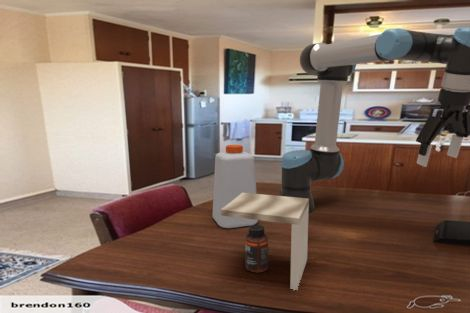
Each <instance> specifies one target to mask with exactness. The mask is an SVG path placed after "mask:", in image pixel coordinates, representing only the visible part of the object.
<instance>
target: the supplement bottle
mask: <svg viewBox="0 0 470 313" xmlns="http://www.w3.org/2000/svg"><path fill="white" fill-rule="evenodd" d="M244 241H245V242H244V243H245V246H244V248H245V269H246V270H247V271H248V270H249V271H248V272H250V271H251V272H250V273H254V272H255V274H259V273H260V272H261V273H264V272H266V271H267V270H268V269H269V268H268V267H269V237H268V235H267V234H266V233H265V226H263V225H261V224H254V225H251V226H248V233H247V234H246V235H245V240H244Z"/></svg>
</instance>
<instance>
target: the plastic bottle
mask: <svg viewBox="0 0 470 313" xmlns="http://www.w3.org/2000/svg"><path fill="white" fill-rule="evenodd" d="M243 147H244V146H243V145H242V144H228V145H226V146H225V151H220V152H218V153H216V154H215V158H214V177H213V178H214V179H213V182H214V183H213V195H212V196H213V198H212V218H213V220H214V221H215V222H216V224H217V225H218V227H220V228H224V229H234V228H242V227H250V226H251V225H257V223H258V222H259V220H254V219H246V218H237V217H229V216H221V209H222V208H224V207H225V206H226V205H227V204H229V203H230V202H231V201H232V200H234V199H235V198H236V197H237V196H239V195H240V194H241V193H253V194H258V193H257V182H256V167H255V157H254V155H253V154H251V153H249V152H246V151H244V148H243Z"/></svg>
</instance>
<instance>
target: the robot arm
mask: <svg viewBox="0 0 470 313" xmlns="http://www.w3.org/2000/svg"><path fill="white" fill-rule="evenodd" d="M398 60H399V61H400V60H401V61H414V62H427V63H433V64H434V63H435V64H436V63H437V64H442V65H445V70H444V75H443V77H442V81H441V84H440V86H441V87H442V88H441V89H439V93H438V96H437V102H438V103H440V107H439V108H438V109H437V108H434V107H433V108H431V109H430V113H429V116H428V118H427V119H426V121H425V123H424V124H423V126H422V128H421V130H420V132H419V134H418V135H417V137H416V138H415V142H416V143H420V146H419V151H418V154H417V160H416V164H417V165H419V166H422V167H423V168H426V167H427V166H428V162H429V159H430V155H431V152H432V147H433V145H432V142H433V141H434V140H435V139H436V138H437V136H438V135H439V133H440V132H441V131H442V130H443V128H444V127H447V126H448V124H451V125H452V130H453V132H454V134H452V136H451V139H450V143H449V146H448V149H447V153H446V156H449V157H452V158H454V159H457V158H458V155H459V154H460V149H461V145H462V143H463V140H464V138H467V139H468V137H469V134H470V26H469V27H466V26H464V27H457V28H456V29H455V32H454V33H453V34H444V33H434V32H425V31H416V30H410V29H405V28H402V27H399V28H387V29H385V30H384V31H383V32H381V33H378V34H374V35H370V36H364V37H358V38H353V39H348V40H344V41H338V42H333V43H329V44H328V43H325V42H317V43H312V44H311V43H310V44H309V45H307V46H305V48H303V50H302V51H301V52H300V56H299V65H300V67H301V69H302V70H303V72H304V73H306V74H308V75H311V76H315V77H316V76H317V79H316V80H317V82H318V84H319V85H320V88H319V95H318V96H319V99H318V106H317V118H316V128H315V136H314V143H313V144H312V145H311V146H310V149H309V150H307V149H298V150H297V149H295V150H291V151H288V152H285V153H284V154H283V155H282V157H281V158H282V159H281V190H280V193H279V195H278V196H286V197H297V198H307V199H309V212H308V214H309V213H312V212H314V210H315V201H314V197H313V195H312V191H311V190H312V189H311V184H312V182H315V181H323V180H331V179H335V178H337V177H339V176H340V175H341V174H342V172H343V169H344V165H345V161H344V158H343V155H342V154H341V153H340V148H339V147H338V146H337V142H338V131H339V130H338V129H339V121H340V116H341V115H340V113H341V105H342V98H343V87H344V85H346V83H347V84H348V80H349V76H351V75H352V74H353V72H355V69H356V66H357V65H361V64H368V63H378V62H391V61H398Z"/></svg>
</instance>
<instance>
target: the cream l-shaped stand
mask: <svg viewBox="0 0 470 313" xmlns="http://www.w3.org/2000/svg"><path fill="white" fill-rule="evenodd" d="M308 212H309V199H307V198H297V197H286V196H279V195H275V194H261V193H257V194H253V193H241V194H240V195H239V196H237V197H236V198H235V199H234V200H232V201H231V202H230V203H229V204H227V205H226V206H225V207H224V208H222V209H221V216H229V217H237V218H246V219H254V220H258V221H264V222H272V223H279V224H287V225H291V230H290V232H291V239H290V240H291V242H290V279H289V280H290V283H289V284H290V286H289V287H290V288H289V289H293V290H292V291H295V290H297V291H298V290H299V287H298V286H300V284H301V281H300V280H302V277H303V273H304V270H305V267H306V265H307V261H308V243H309V242H308V240H309V239H308V237H309V213H310V212H309V213H308ZM299 283H300V284H299Z"/></svg>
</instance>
